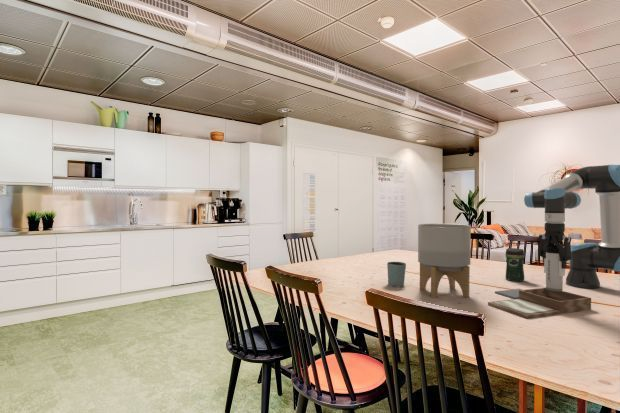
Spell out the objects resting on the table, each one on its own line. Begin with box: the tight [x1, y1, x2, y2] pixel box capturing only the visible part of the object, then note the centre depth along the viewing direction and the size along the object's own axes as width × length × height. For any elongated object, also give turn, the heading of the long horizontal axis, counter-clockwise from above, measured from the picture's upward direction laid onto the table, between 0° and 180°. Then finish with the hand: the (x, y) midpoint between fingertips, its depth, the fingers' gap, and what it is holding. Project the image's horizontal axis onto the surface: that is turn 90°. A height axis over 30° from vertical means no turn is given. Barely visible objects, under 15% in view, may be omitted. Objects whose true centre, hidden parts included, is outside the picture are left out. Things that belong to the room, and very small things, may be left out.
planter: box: [417, 223, 472, 299], centre depth 186 cm, size 25×25×34 cm
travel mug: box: [545, 244, 564, 291], centre depth 164 cm, size 6×7×20 cm
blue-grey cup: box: [386, 261, 407, 287], centre depth 203 cm, size 10×10×12 cm
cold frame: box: [487, 287, 592, 320], centre depth 161 cm, size 36×20×5 cm, turn 109°
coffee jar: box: [504, 247, 525, 282], centre depth 214 cm, size 10×8×19 cm
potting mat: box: [494, 288, 523, 299], centre depth 182 cm, size 16×12×1 cm
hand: (554, 274), depth 164 cm, fingers closed on travel mug, 6 cm apart
